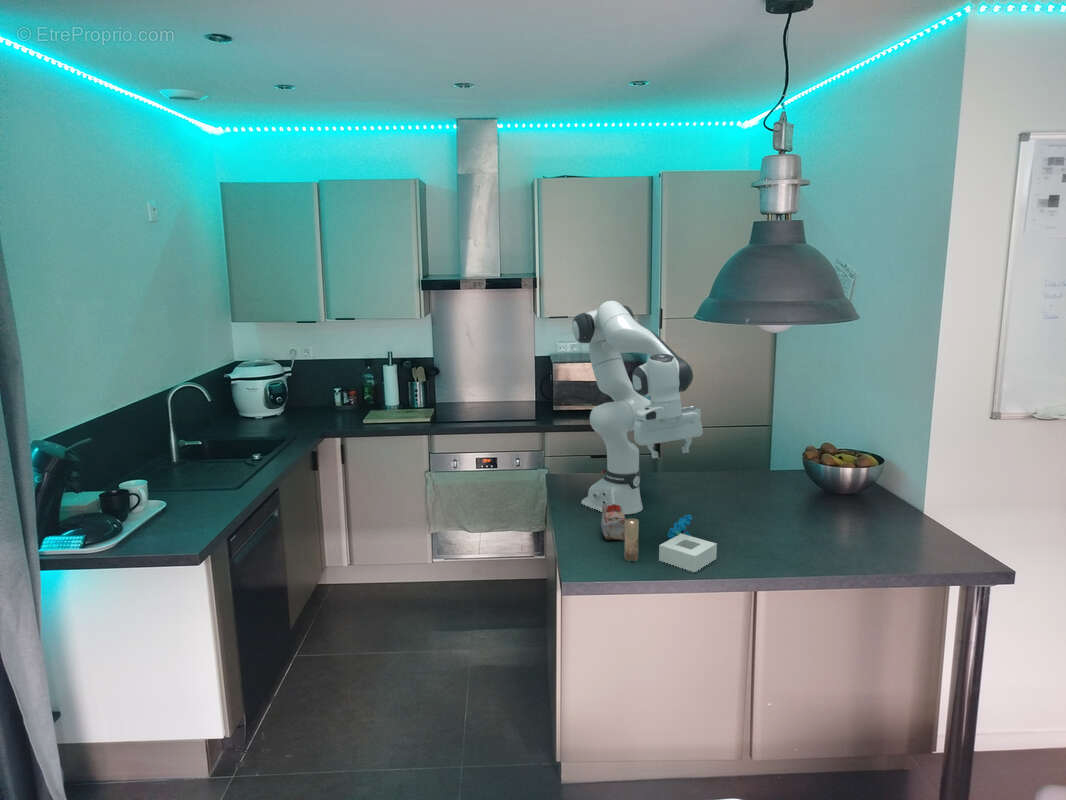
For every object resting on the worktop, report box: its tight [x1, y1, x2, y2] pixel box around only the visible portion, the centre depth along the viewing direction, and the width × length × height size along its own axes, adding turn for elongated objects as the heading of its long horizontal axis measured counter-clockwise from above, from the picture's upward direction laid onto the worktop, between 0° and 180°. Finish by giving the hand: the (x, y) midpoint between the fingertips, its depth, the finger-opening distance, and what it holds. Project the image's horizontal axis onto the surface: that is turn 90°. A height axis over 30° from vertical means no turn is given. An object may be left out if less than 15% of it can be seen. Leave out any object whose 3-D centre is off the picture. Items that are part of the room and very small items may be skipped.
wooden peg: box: [624, 517, 640, 562], centre depth 211 cm, size 4×4×12 cm
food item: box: [600, 503, 626, 541], centre depth 230 cm, size 14×8×10 cm, turn 1°
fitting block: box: [658, 534, 718, 573], centre depth 210 cm, size 12×12×5 cm
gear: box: [666, 514, 693, 540], centre depth 226 cm, size 11×6×10 cm
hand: (670, 455), depth 211 cm, fingers open, 8 cm apart
